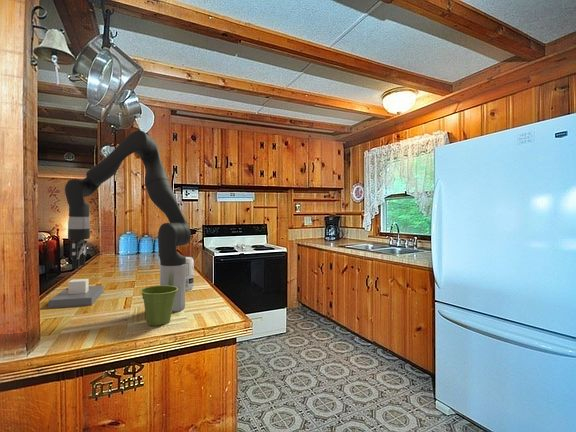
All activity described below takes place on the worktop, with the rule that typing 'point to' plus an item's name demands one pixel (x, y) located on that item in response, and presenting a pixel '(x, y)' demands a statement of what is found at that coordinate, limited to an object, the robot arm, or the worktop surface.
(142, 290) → the plant pot
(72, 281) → the plug
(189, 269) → the supplement can
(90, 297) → the socket plate
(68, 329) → the worktop surface
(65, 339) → the worktop surface
